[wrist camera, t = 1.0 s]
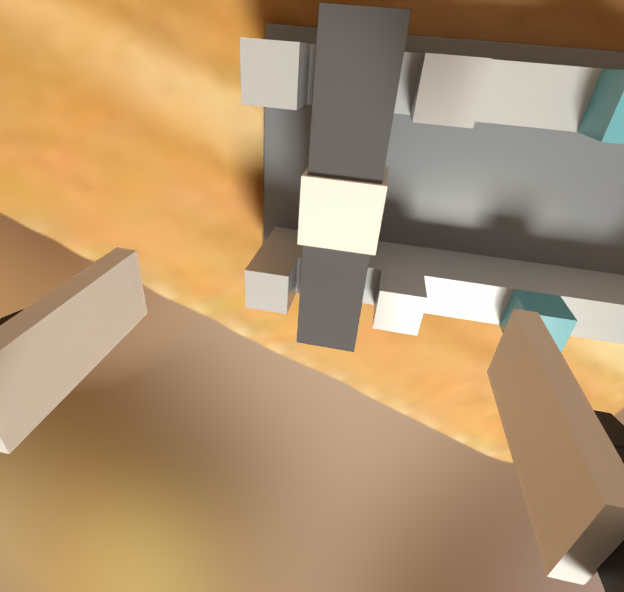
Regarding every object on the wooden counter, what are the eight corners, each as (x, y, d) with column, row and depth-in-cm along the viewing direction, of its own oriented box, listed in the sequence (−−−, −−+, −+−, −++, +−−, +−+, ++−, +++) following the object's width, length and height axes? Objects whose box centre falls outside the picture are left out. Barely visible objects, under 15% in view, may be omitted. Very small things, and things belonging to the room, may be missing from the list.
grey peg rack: (269, 24, 26) (219, 10, 19) (802, 66, 23) (1004, 70, 15) (266, 262, 36) (232, 316, 28) (642, 318, 32) (717, 398, 25)
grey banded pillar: (326, 11, 21) (311, 1, 17) (414, 18, 20) (418, 9, 16) (304, 308, 31) (291, 344, 27) (362, 317, 30) (358, 355, 27)
